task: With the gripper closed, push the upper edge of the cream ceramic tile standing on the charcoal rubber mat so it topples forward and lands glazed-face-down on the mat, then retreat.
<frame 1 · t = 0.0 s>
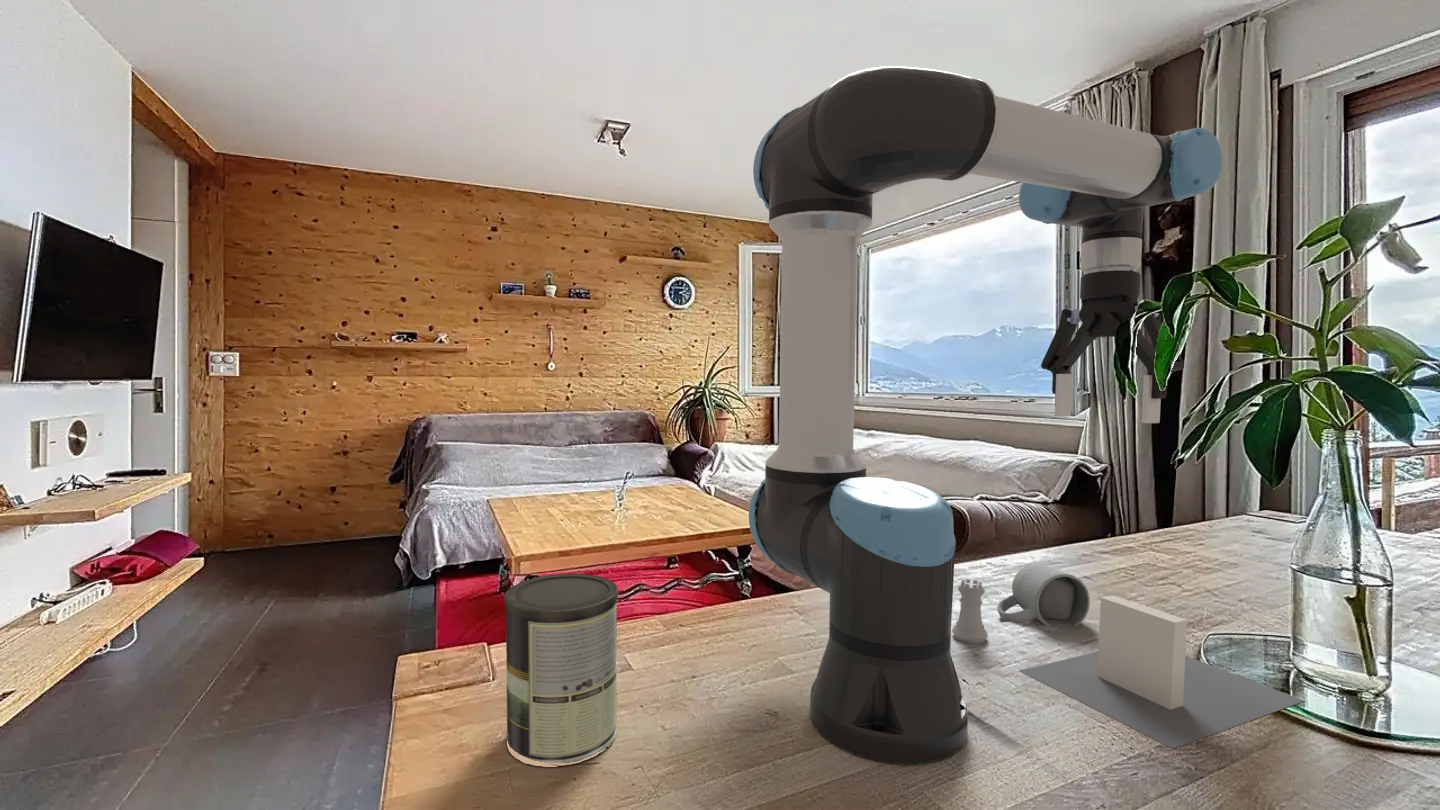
hand: (1103, 419, 98), 28 cm above the table, tool pointing down, fingers open, 13 cm apart
ceramic mug: (1038, 622, 94), on the table
tile: (1138, 690, 72), point 1 cm above the table, touching mat
mat: (1155, 692, 73), on the table
coffee can: (562, 738, 63), on the table
rook chess piece: (969, 645, 86), on the table
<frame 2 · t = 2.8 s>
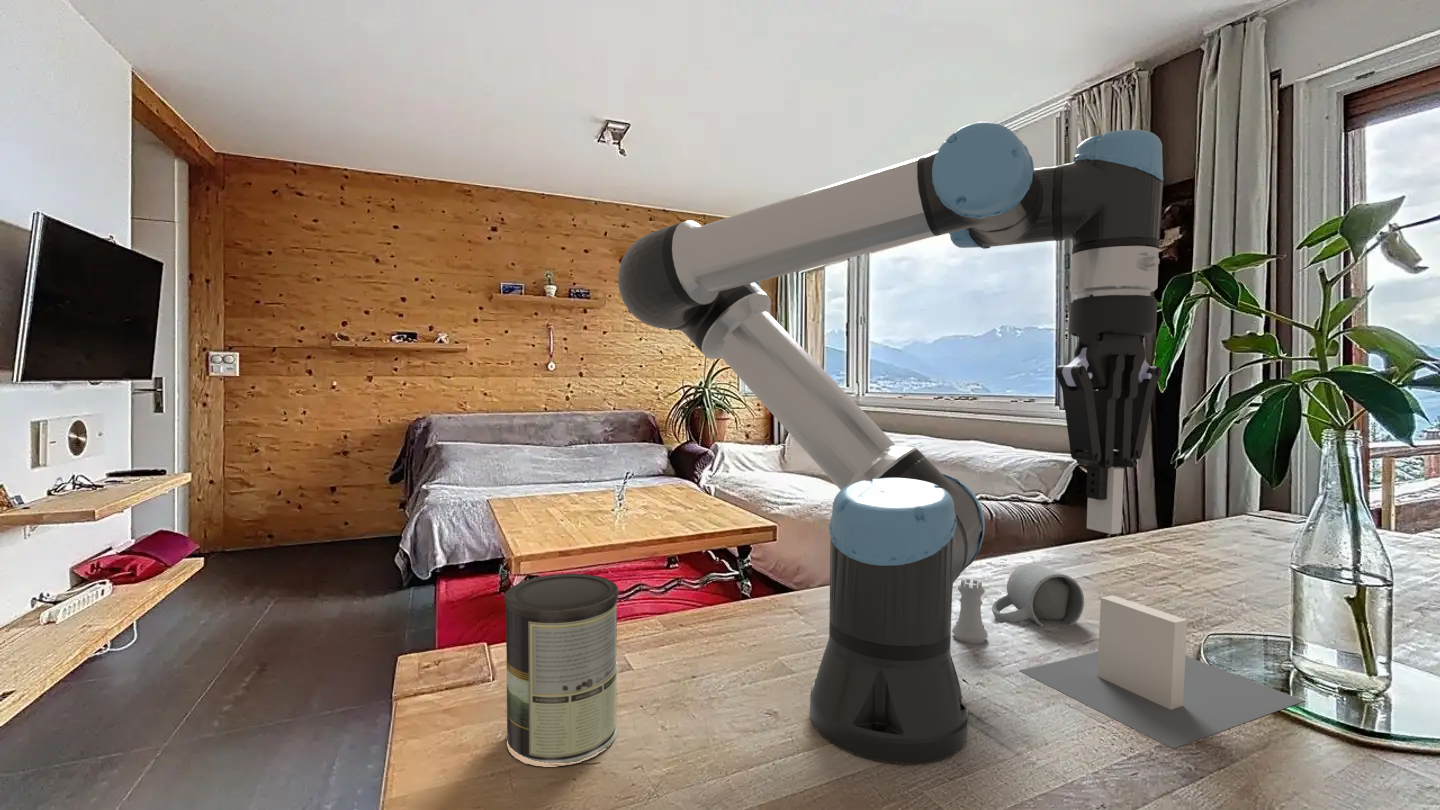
hand: (1103, 530, 68), 19 cm above the table, tool pointing down, fingers closed
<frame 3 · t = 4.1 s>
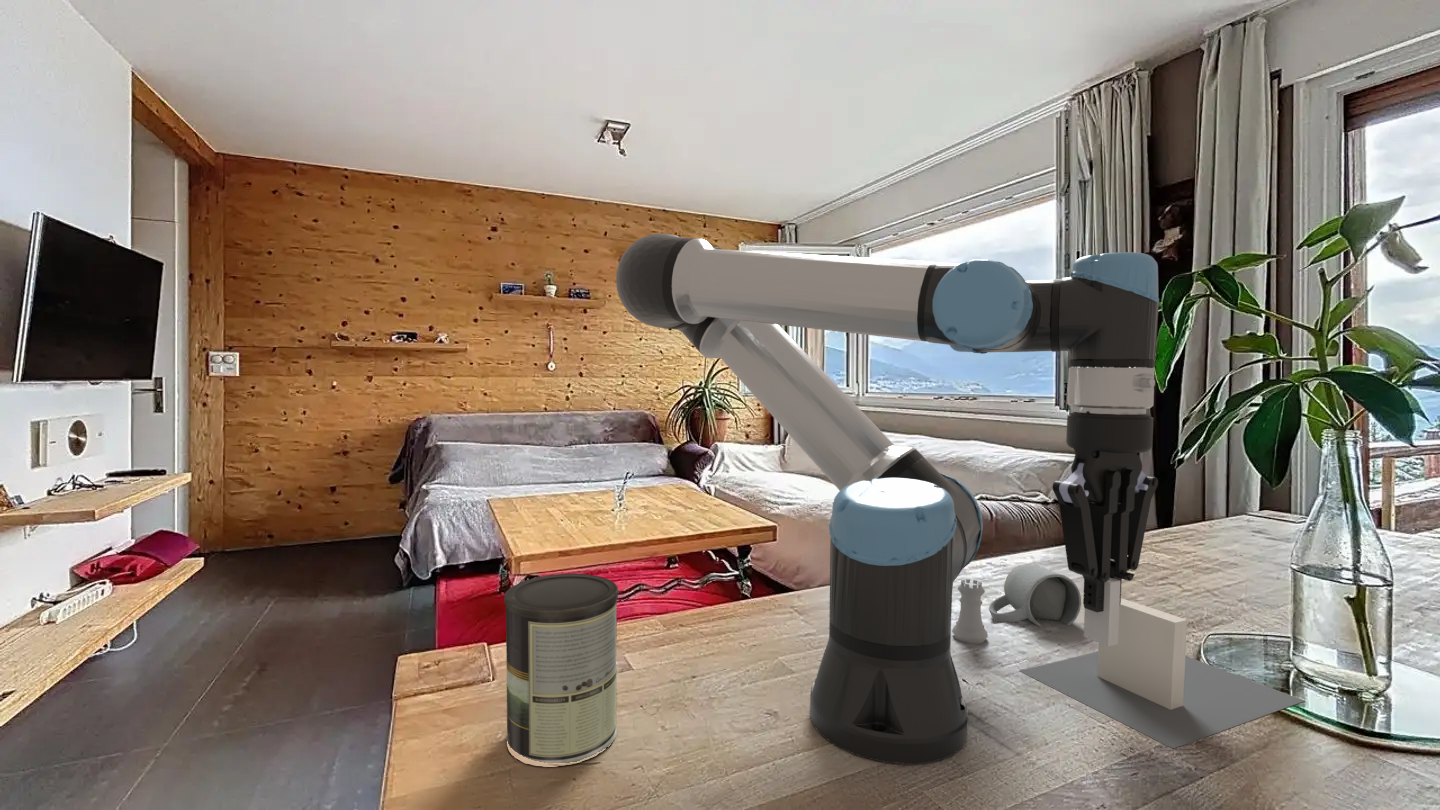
hand: (1100, 639, 69), 7 cm above the table, tool pointing down, fingers closed
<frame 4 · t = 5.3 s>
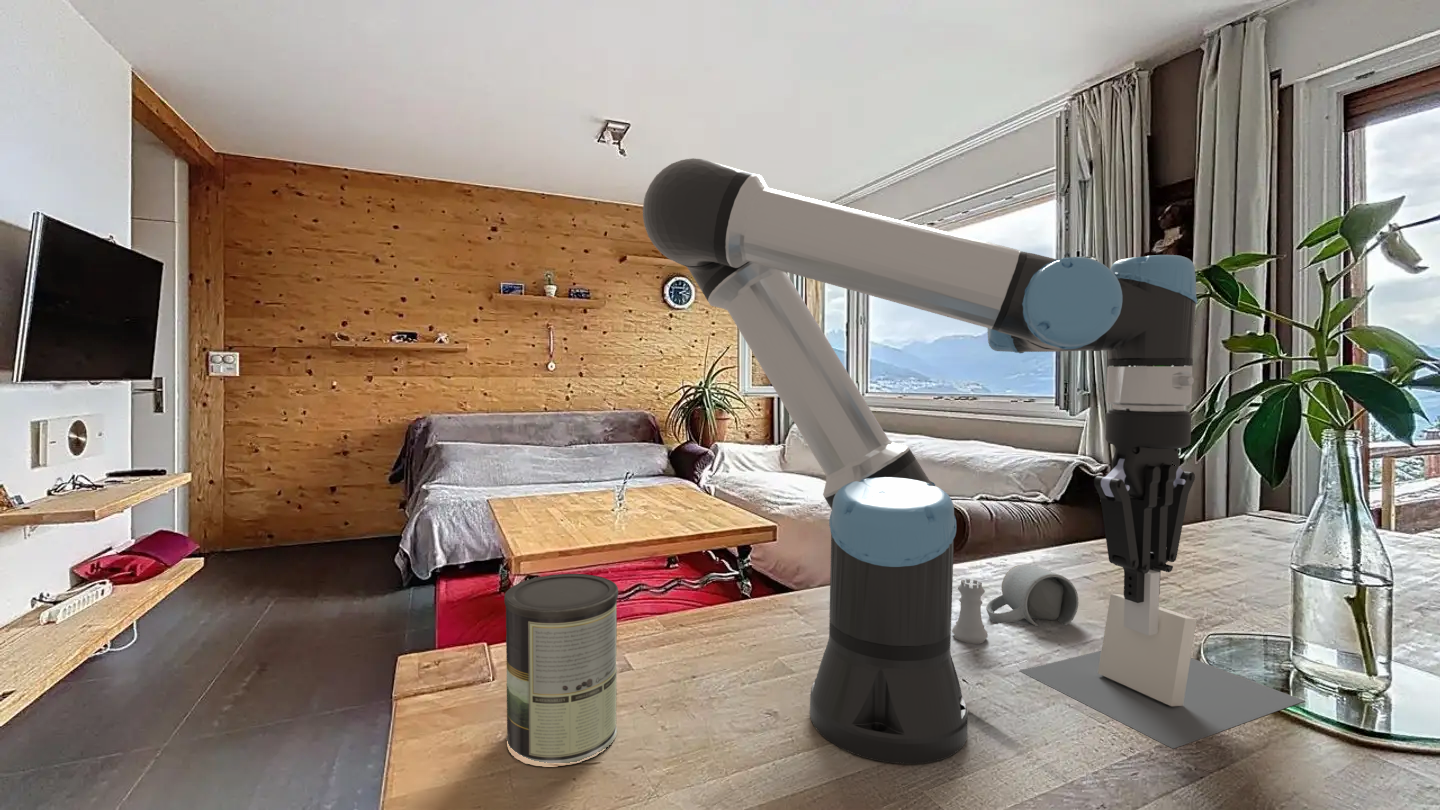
hand: (1140, 629, 71), 8 cm above the table, tool pointing down, fingers closed
tile: (1138, 688, 72), point 1 cm above the table, tilted 10°, touching mat
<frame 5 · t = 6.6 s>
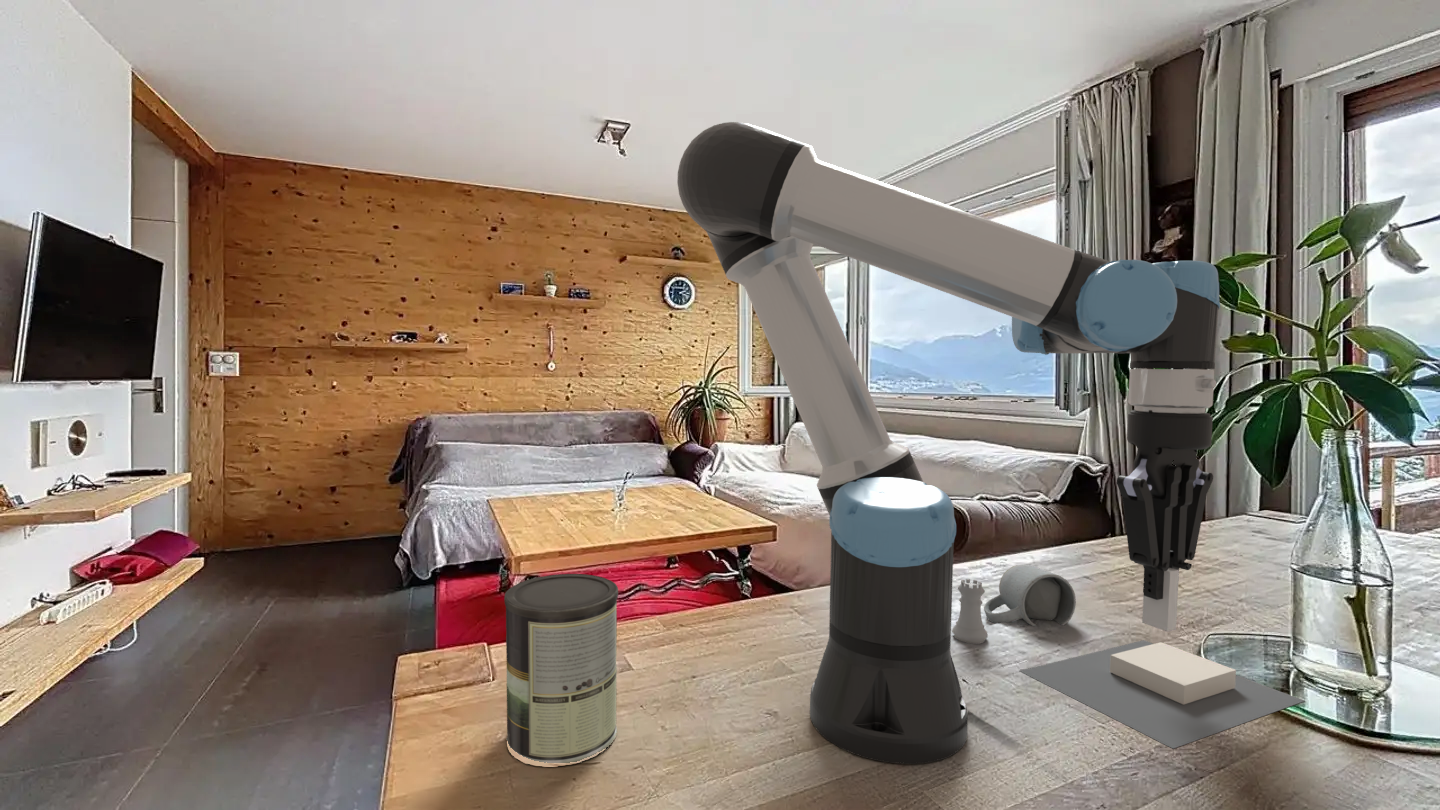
hand: (1158, 625, 73), 7 cm above the table, tool pointing down, fingers closed
tile: (1145, 678, 72), point 2 cm above the table, tilted 90°, touching mat
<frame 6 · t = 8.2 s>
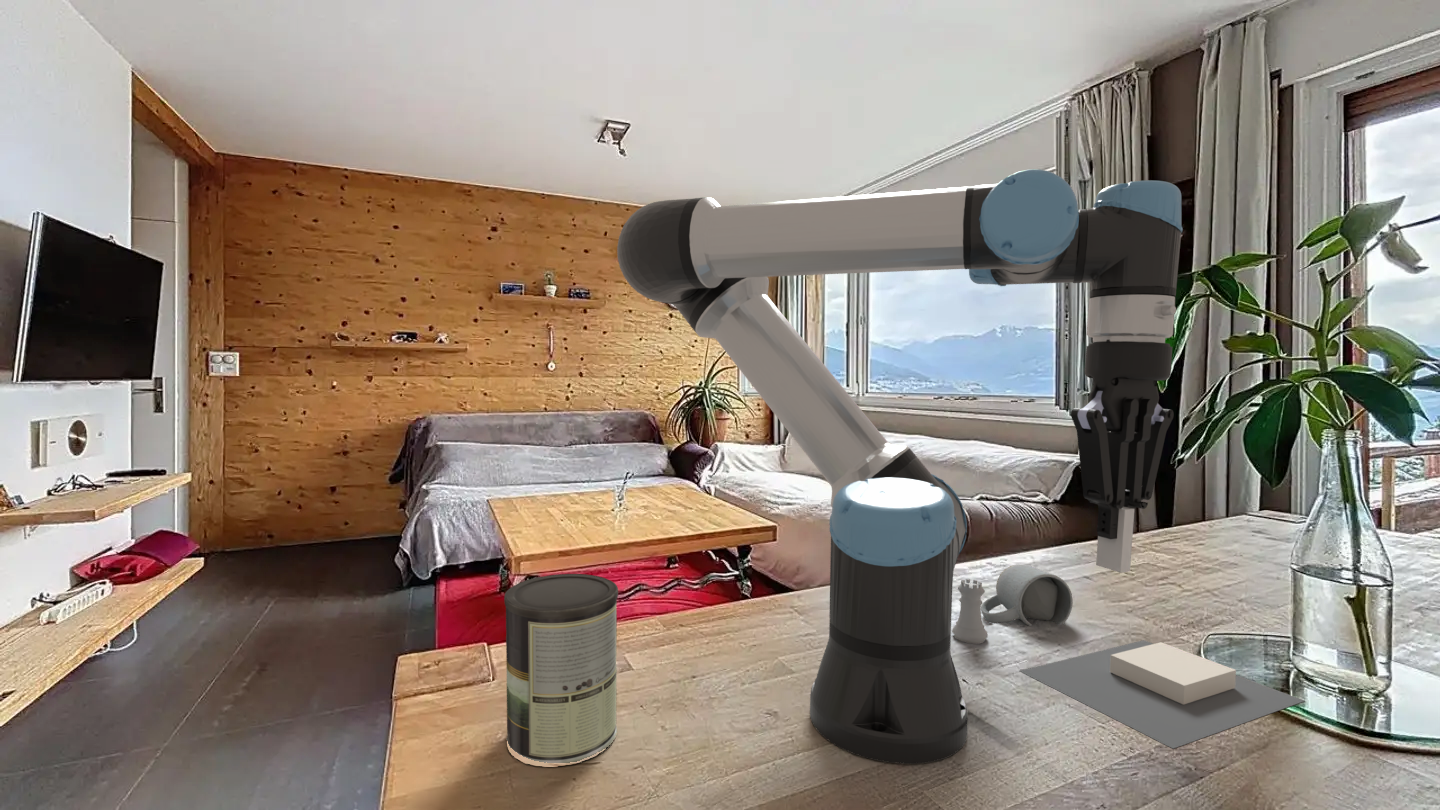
hand: (1112, 567, 70), 15 cm above the table, tool pointing down, fingers closed
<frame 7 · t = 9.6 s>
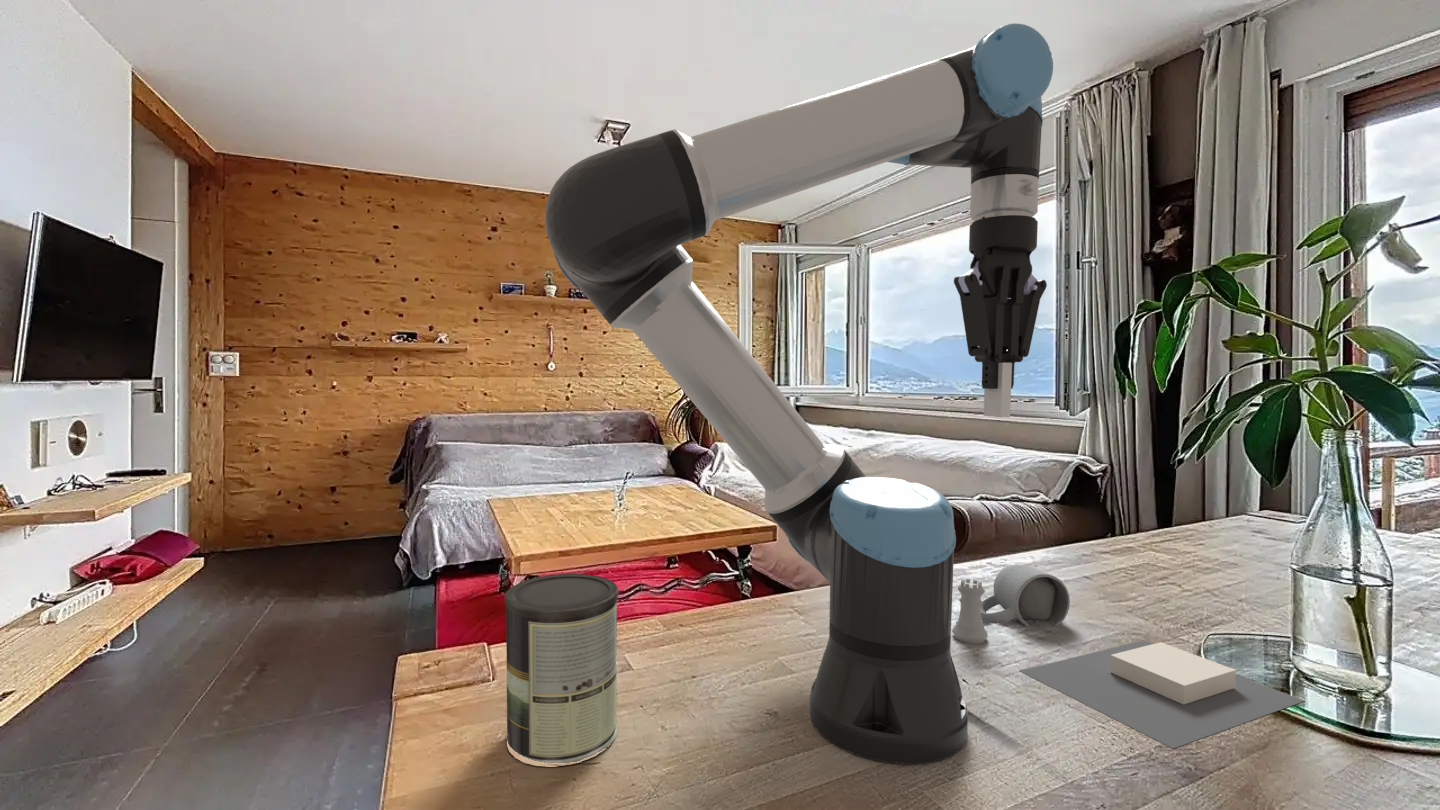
hand: (996, 416, 81), 29 cm above the table, tool pointing down, fingers closed
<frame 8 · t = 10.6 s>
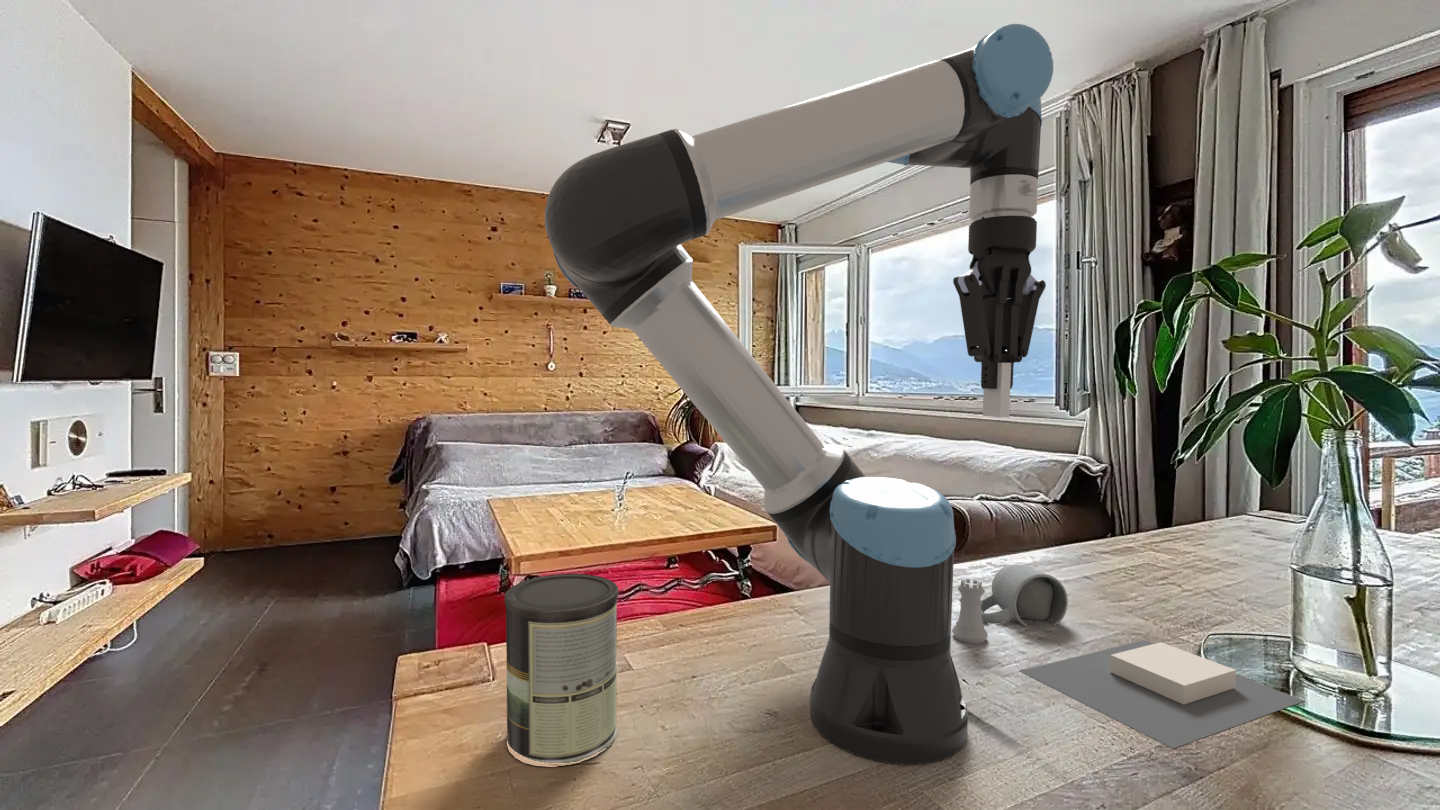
hand: (995, 416, 81), 29 cm above the table, tool pointing down, fingers closed
at the end: tile tilted 90°; tile inside the target area on the mat (3.4 cm from its centre), point 1.9 cm above the mat's base; the gripper is holding nothing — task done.
